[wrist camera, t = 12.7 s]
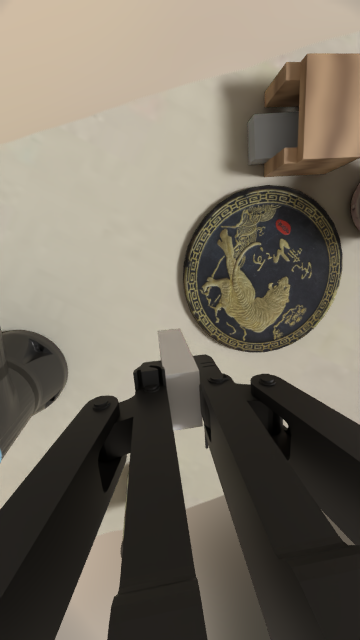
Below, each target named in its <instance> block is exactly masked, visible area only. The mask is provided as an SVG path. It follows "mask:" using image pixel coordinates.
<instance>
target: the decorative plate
mask: <svg viewBox="0 0 360 640" xmlns="http://www.w3.org/2000/svg"><path fill="white" fill-rule="evenodd" d="M341 274H342V249H341V243H340V238H339V235H338V233H337V230H336V228H335V225H334V223H333V222H332V220H331V218H330V217H329V215H328V214H327V212H326V211H325V210H324V209H323V208H322V207H321V206H320V205H319V204H318V203H317V202H316V201H315V200H314V199H312V198H311V197H309V196H307V195H306V194H304V193H302V192H301V191H298V190H295V189H291V188H288V187H285V186H274V185H265V186H259V187H252V188H248V189H246V190H243V191H241V192H238V193H235V194H233V195H232V196H230V197H228V198H227V199H225V200H224V201H222V202H221V203H219V204H218V205H217V206H216V207H215V208H214V209H213V210H211V211H210V212H209V213H208V214H207V215H206V216H205V218H204V219H203V220H202V222H201V223H200V225H199V226H198V228H197V229H196V230H195V232H194V235H193V237H192V239H191V241H190V243H189V246H188V249H187V253H186V257H185V261H184V273H183V283H184V290H185V296H186V299H187V302H188V305H189V308H190V310H191V312H192V314H193V316H194V317H195V319H196V321H197V322H198V324H199V325H200V326H201V327H202V328H203V329H204V330H205V331H206V332H207V334H208V335H209V336H211V337H212V338H214V339H215V340H217V341H218V342H220V343H221V344H223V345H226V346H228V347H230V348H233V349H235V350H240V351H245V352H267V351H273V350H278V349H280V348H283V347H285V346H288V345H290V344H293V343H294V342H296V341H297V340H299V339H301V338H302V337H304V336H305V335H306V334H308V333H309V332H310V331H311V330H312V329H313V328H314V327H316V326H317V324H318V323H319V322H320V321H321V319H322V318H323V317H324V316H325V315H326V313H327V311H328V309H329V308H330V306H331V304H332V303H333V301H334V298H335V296H336V293H337V290H338V288H339V284H340V279H341Z"/></svg>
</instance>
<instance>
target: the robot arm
mask: <svg viewBox="0 0 360 640" xmlns="http://www.w3.org/2000/svg"><path fill="white" fill-rule="evenodd" d="M158 338H159V348H160V357H161V361H153V362H145V363H143V364H142V365H141V366H140V367H138V368H137V369H136V370H134V372H133V375H134V383H135V390H136V392H135V395H134V396H133V397H132V398H130V399H128V400H125V401H123V402H120V403H119V402H118V399H117V398H116V397H114V396H99V397H96V398H94V399H92V400H91V401H89V402H88V403H87V404H86V405H85V406H84V407H83V408H82V409H81V411H80V412H79V413H78V414H77V416H76V417H75V418H74V419H73V421H72V422H71V423H70V424H69V425H68V427H67V428H66V429H65V430H64V432H63V433H62V434H61V435H60V437H59V438H58V439H57V440H56V441H55V443H54V444H53V445H52V446H51V448H50V449H49V450H48V451H47V453H46V454H45V455H44V456H43V458H42V459H41V460H40V461H39V462H38V464H37V465H36V466H35V467H34V469H33V470H32V471H31V472H30V474H29V475H28V476H27V477H26V478H25V480H24V481H23V482H22V483H21V485H20V486H19V487H18V488H17V490H16V491H15V492H14V493H13V495H12V496H11V497H10V498H9V499H8V501H7V502H6V503H5V504H4V506H3V507H2V508H1V509H0V640H55V637H56V635H57V632H58V630H59V627H60V625H61V622H62V620H63V617H64V615H65V612H66V610H67V607H68V605H69V602H70V600H71V597H72V595H73V592H74V590H75V587H76V585H77V582H78V580H79V577H80V575H81V572H82V570H83V567H84V565H85V562H86V560H87V557H88V555H89V552H90V550H91V547H92V545H93V542H94V540H95V537H96V535H97V532H98V530H99V527H100V525H101V522H102V520H103V517H104V515H105V512H106V510H107V507H108V505H109V502H110V500H111V497H112V495H113V492H114V490H115V487H116V485H117V482H118V480H119V477H120V475H121V472H122V470H123V467H124V465H125V462H126V458H127V454H128V453H130V465H129V478H128V490H127V502H126V515H125V527H124V539H123V552H122V564H121V577H120V587H119V591H118V594H117V595H116V596H115V597H114V599H113V603H112V607H111V613H110V621H109V629H108V639H107V640H207V634H206V628H205V622H204V615H203V609H202V602H201V597H200V591H199V585H198V580H197V578H196V574H195V569H194V562H193V556H192V549H191V543H190V536H189V530H188V523H187V517H186V510H185V503H184V497H183V490H182V484H181V477H180V471H179V464H178V458H177V451H176V445H175V438H174V432H173V431H174V430H180V429H187V428H194V427H201V426H203V424H202V418H203V421H204V428H205V445H206V448H208V445H209V448H210V451H211V454H212V458H213V461H214V464H215V467H216V470H217V473H218V476H219V479H220V483H221V486H222V489H223V492H224V495H225V498H226V501H227V504H228V508H229V511H230V514H231V517H232V520H233V523H234V526H235V529H236V533H237V536H238V539H239V542H240V545H241V548H242V551H243V554H244V558H245V561H246V564H247V567H248V570H249V573H250V576H251V579H252V583H253V586H254V589H255V592H256V595H257V598H258V601H259V605H260V607H261V611H262V614H263V617H264V620H265V623H266V626H267V630H268V632H269V636H270V639H271V640H360V425H359V424H357V423H356V422H354V421H352V420H351V419H349V418H347V417H345V416H344V415H342V414H340V413H339V412H337V411H335V410H334V409H332V408H330V407H328V406H327V405H325V404H323V403H322V402H320V401H318V400H317V399H315V398H313V397H311V396H310V395H308V394H306V393H305V392H303V391H301V390H300V389H298V388H296V387H294V386H293V385H291V384H289V383H288V382H286V381H284V380H283V379H281V378H279V377H277V376H274V375H270V374H260V375H256V376H253V377H252V378H251V385H247V384H236V383H234V381H233V380H232V378H231V377H230V376H228V375H226V374H223V373H221V371H220V370H219V368H218V367H217V366H216V364H215V362H214V360H213V359H212V357H210V356H208V355H206V354H205V355H197V356H192V354H191V352H190V349H189V347H188V345H187V343H186V340H185V338H184V336H183V334H182V332H181V329H170V330H161V331H158ZM67 377H68V368H67V363H66V360H65V357H64V355H63V354H62V352H61V351H60V349H59V348H58V347H57V346H56V345H55V344H54V343H53V342H52V341H50V340H49V339H48V338H46V337H44V336H42V335H40V334H37V333H34V332H31V331H25V330H13V331H7V332H4V333H1V328H0V463H1V460H2V458H3V457H4V455H5V454H6V453H7V451H8V450H9V448H10V447H11V445H12V444H13V443H14V441H15V440H16V438H17V437H18V435H19V434H20V432H21V431H22V430H23V428H24V427H25V425H26V424H27V422H28V421H29V419H30V418H31V417H32V416H33V415H35V414H36V413H38V412H40V411H42V410H43V409H45V408H47V407H48V406H49V405H51V404H52V403H53V402H54V401H55V400H56V399H57V398H58V396H59V395H60V393H61V392H62V390H63V389H64V387H65V384H66V382H67ZM283 419H284V420H285V421H286V422H287V424H288V425H289V426H288V428H286V427H285V426H284V425H283ZM321 510H322V511H323V512H324V513H325V514H326V515H327V516H328V517H329V518H330V519H331V520H332V521H333V522H334V523H335V524H336V525H337V526H338V527H339V528H340V530H341V531H342V532H343V533H344V534H345V535H346V536H347V537H348V538H349V539H350V540H351V541H352V542H353V543H354V544H355V545H347V544H346V543H345V542H343V541H342V539H341V538H340V537H339V536H338V534H337V533H336V531H335V530H334V528H333V527H332V525H331V524H330V522H329V521H328V520H327V518H326V517H325V515H324V514H323V512H322V511H321Z"/></svg>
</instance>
